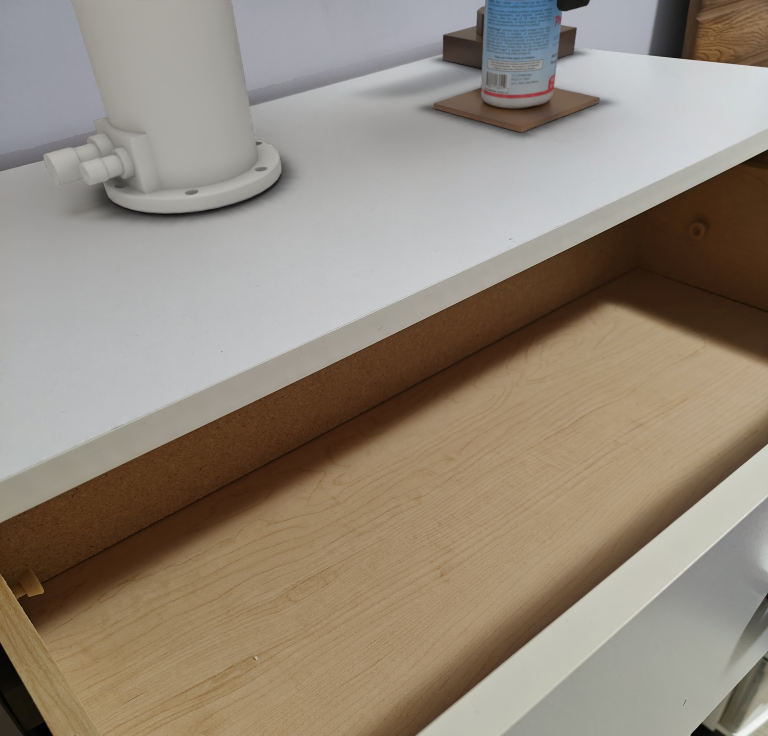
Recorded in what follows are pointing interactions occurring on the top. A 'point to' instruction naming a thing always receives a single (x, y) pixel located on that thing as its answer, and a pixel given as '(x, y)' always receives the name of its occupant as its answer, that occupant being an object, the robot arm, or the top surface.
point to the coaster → (516, 118)
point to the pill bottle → (519, 52)
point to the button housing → (470, 43)
